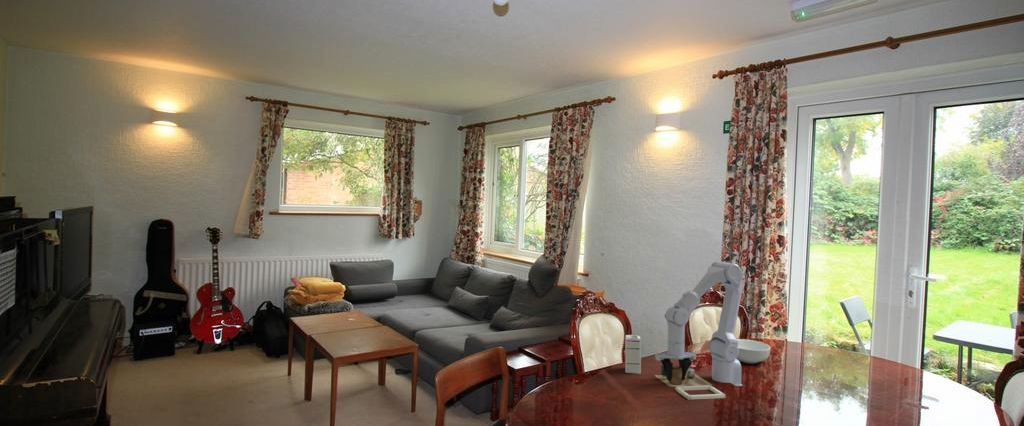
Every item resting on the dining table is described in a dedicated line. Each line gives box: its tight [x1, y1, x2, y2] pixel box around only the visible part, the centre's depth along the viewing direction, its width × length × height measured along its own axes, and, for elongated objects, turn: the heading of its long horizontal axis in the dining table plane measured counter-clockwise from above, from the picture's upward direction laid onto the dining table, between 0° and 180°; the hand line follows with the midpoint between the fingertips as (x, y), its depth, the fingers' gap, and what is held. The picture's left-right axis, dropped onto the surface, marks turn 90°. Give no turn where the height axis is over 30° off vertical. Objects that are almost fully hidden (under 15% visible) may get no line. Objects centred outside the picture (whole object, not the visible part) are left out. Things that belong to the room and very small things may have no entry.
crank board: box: [654, 373, 713, 388], centre depth 179 cm, size 16×12×2 cm
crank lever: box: [660, 364, 696, 378], centre depth 181 cm, size 13×3×4 cm, turn 99°
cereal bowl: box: [736, 338, 771, 364], centre depth 210 cm, size 17×17×7 cm
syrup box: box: [624, 334, 642, 375], centre depth 189 cm, size 6×6×14 cm
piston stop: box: [669, 365, 682, 385], centre depth 176 cm, size 4×4×6 cm
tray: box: [674, 385, 727, 401], centre depth 166 cm, size 13×9×2 cm
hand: (675, 379), depth 176 cm, fingers closed on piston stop, 4 cm apart
